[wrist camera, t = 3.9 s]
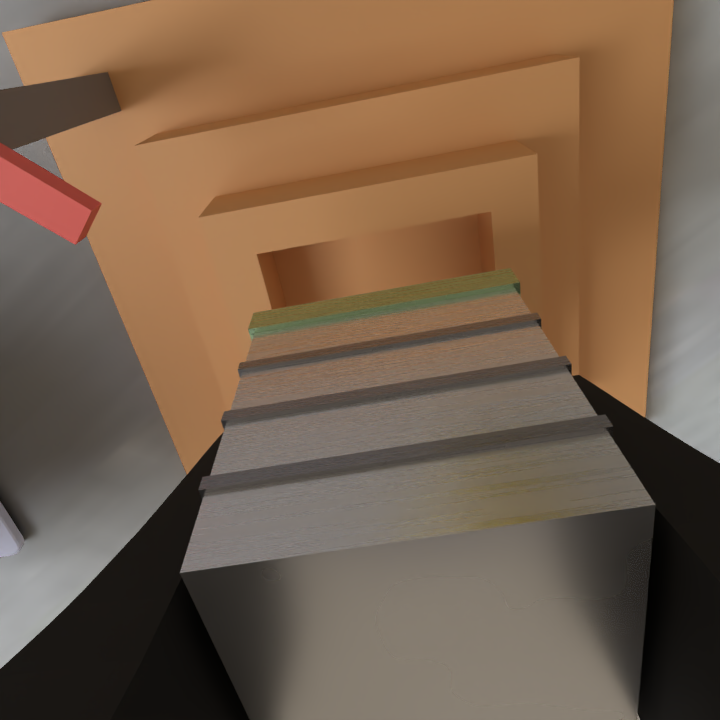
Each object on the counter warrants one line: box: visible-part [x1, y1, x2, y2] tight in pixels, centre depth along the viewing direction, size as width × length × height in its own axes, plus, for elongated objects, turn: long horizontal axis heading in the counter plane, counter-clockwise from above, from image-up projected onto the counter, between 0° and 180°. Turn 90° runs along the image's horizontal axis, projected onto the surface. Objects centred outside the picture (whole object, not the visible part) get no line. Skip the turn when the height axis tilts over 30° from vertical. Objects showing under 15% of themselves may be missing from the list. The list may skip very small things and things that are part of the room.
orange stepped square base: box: [0, 0, 674, 474], centre depth 13 cm, size 14×14×8 cm
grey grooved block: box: [180, 268, 655, 720], centre depth 8 cm, size 4×4×5 cm
